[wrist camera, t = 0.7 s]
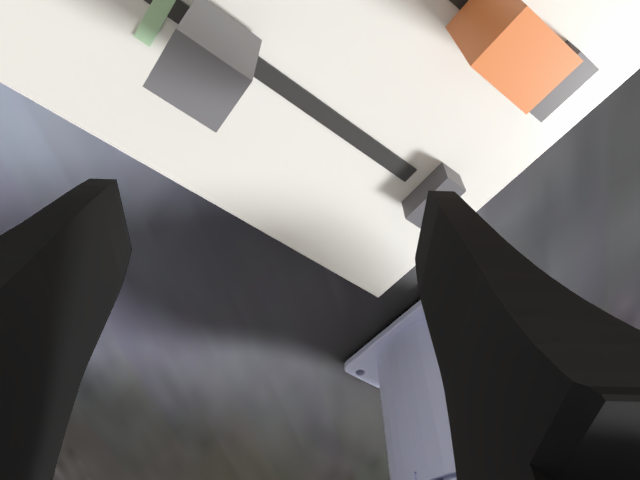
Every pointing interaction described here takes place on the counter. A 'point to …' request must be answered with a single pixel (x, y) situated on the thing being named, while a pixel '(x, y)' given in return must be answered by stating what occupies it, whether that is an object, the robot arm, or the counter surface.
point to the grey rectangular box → (205, 65)
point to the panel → (319, 110)
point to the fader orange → (512, 49)
